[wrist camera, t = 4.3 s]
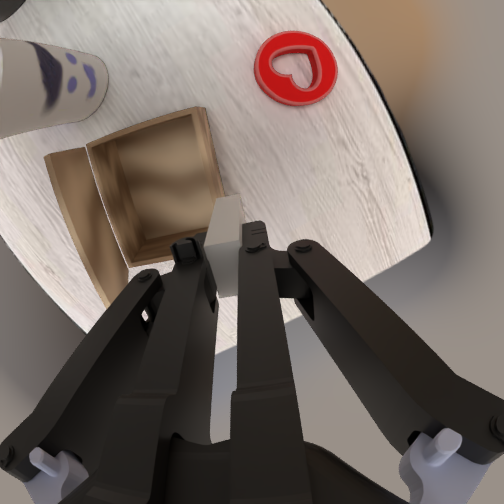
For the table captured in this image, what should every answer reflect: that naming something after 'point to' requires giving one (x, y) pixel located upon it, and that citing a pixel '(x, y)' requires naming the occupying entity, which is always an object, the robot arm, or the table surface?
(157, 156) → the wooden box
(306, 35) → the decorative ornament
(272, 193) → the table surface
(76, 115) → the container
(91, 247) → the lid
